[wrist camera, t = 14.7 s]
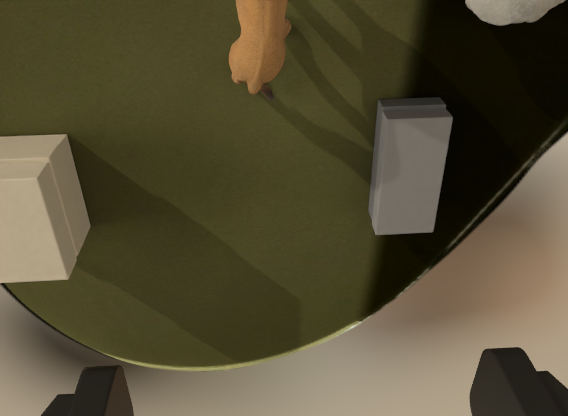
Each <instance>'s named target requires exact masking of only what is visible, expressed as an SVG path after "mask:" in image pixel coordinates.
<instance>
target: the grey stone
mask: <svg viewBox="0 0 568 416" xmlns="http://www.w3.org/2000/svg"><path fill="white" fill-rule="evenodd" d="M564 1H565V0H466V1H465V3H466V5H467V7H468V8H469V9H470V10H472V11H473V12H474V13H475V14H476V15H477V16H478V17H479V18H480V19H481V20H483V21H485V22H488V23H491V24H494V25H508V24H510V23H522V22H524V21H525V22H534V21H536V20H538V19H540V18H541V17H542V16H543V15H545V14H546V13H547V12H548V10H549V9H551V8H553V7H555V6H557V5H558V4H559V3H562V2H564Z"/></svg>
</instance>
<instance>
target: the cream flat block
mask: <svg viewBox="0 0 568 416" xmlns="http://www.w3.org/2000/svg"><path fill="white" fill-rule="evenodd" d="M76 261H77V259H76V255H75V252H74V248H73V245H72V242H71V238H70V235H69V231H68V228H67V224H66V221H65V217H64V214H63V210H62V207H61V203H60V200H59V197H58V193H57V190H56V186H55V183H54V179H53V176H52V172H51V169H50V165H49V163H48V162H42V163H18V164H0V283H9V282H28V281H48V280H67V279H69V277H70V275H71V272H72V270H73V268H74V266H75V263H76Z"/></svg>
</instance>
